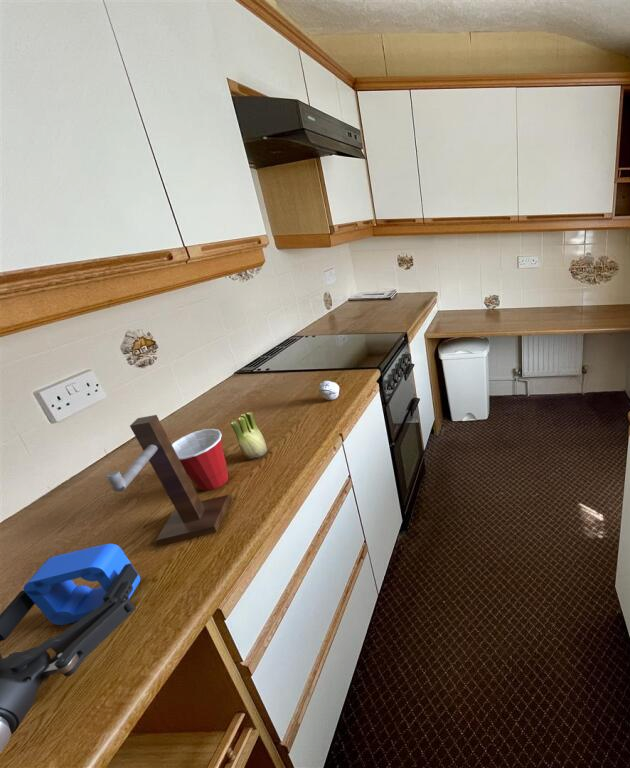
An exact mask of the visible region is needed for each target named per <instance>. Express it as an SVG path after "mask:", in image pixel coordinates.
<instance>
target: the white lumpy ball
mask: <svg viewBox="0 0 630 768" xmlns="http://www.w3.org/2000/svg"><path fill="white" fill-rule="evenodd" d="M318 393H319V395H321V396H322V397H323V398H324V399H325V400H327V401H333V400H336V399H337V398H338V397H339V394H340V386H339V385H338V383H337V382H335V381H331V380H324V381H322V382H320V383H319V387H318Z"/></svg>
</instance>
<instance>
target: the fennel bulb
mask: <svg viewBox="0 0 630 768" xmlns="http://www.w3.org/2000/svg"><path fill="white" fill-rule="evenodd" d="M237 421H238V422H237ZM237 421H231V423H230V425H231V428H232V429H233V431H234V435H235V436H236V439H237V442H238V445H239V448H240V451H241V452H242V454H243V456H244V457H245V458H246V459H247V460H254V459H258V458H261V457H263V456H264V455H266V453H267V452H268V448H267V447H268V446H267V443H266V440H265V438H264V436H263V434H262V432H261V431H260V429H259V427H258V426H257V424H256V421H255V418H254V414H253V412H252V411H249V412H246V413H241V414H240V417H238V419H237Z"/></svg>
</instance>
